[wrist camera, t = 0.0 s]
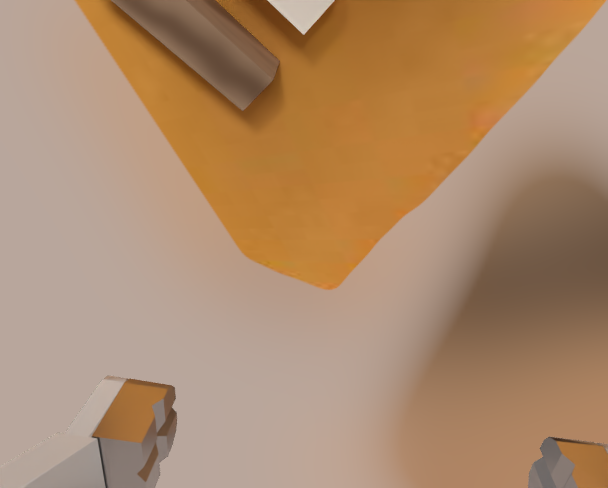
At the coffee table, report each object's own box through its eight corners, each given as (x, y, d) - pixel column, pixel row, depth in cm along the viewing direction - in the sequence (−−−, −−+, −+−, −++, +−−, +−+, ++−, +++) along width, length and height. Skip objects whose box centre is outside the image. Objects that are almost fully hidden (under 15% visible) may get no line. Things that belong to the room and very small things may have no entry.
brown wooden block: (123, -87, 49) (103, -75, 45) (279, 61, 58) (273, 79, 55) (99, -40, 52) (79, -27, 49) (250, 91, 62) (242, 111, 58)
